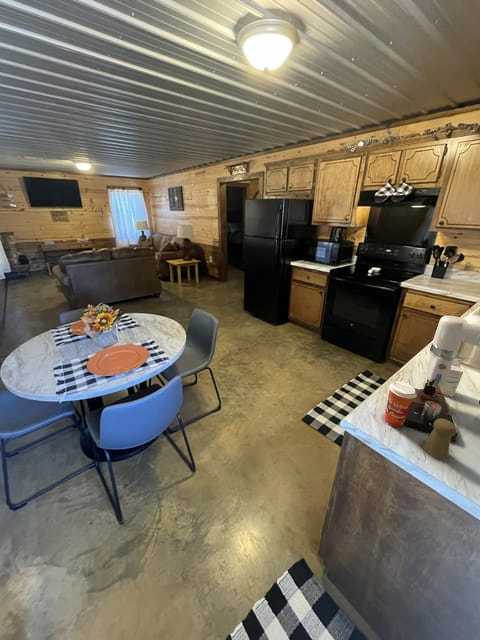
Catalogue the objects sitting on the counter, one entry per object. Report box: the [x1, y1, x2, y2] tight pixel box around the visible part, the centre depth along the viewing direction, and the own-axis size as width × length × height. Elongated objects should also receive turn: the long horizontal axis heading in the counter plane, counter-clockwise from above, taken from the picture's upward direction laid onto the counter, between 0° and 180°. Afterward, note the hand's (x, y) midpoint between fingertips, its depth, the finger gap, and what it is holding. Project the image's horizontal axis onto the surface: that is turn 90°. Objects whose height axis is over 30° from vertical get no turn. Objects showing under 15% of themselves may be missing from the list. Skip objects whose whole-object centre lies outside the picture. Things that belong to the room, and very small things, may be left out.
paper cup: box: [384, 381, 417, 428], centre depth 88 cm, size 8×8×14 cm
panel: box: [403, 404, 459, 443], centre depth 89 cm, size 14×10×3 cm
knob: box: [421, 401, 441, 422], centre depth 87 cm, size 4×4×5 cm
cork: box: [423, 419, 457, 461], centre depth 77 cm, size 6×6×11 cm
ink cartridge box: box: [435, 357, 464, 397], centre depth 104 cm, size 9×5×15 cm, turn 65°
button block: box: [412, 387, 450, 414], centre depth 99 cm, size 12×10×4 cm
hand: (428, 393), depth 98 cm, fingers closed
